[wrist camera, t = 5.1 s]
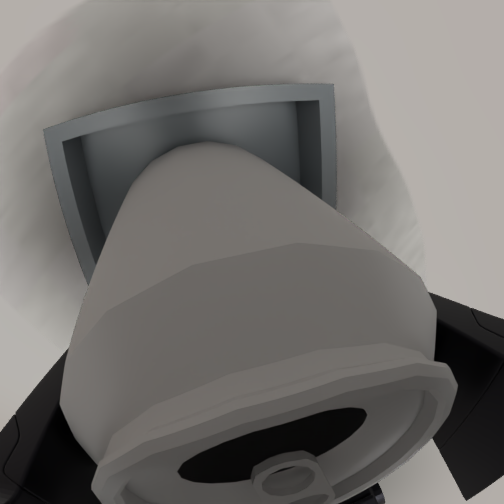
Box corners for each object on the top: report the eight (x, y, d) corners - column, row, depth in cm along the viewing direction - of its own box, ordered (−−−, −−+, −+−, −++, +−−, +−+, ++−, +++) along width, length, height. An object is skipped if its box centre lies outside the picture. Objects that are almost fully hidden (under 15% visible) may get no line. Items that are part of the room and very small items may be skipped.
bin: (309, 282, 19) (330, 311, 16) (124, 320, 17) (120, 356, 14) (304, 85, 13) (333, 83, 11) (67, 123, 11) (43, 129, 9)
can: (262, 117, 12) (552, 219, 2) (296, 260, 16) (437, 460, 6) (97, 176, 12) (-64, 435, 1) (161, 308, 16) (186, 550, 5)
